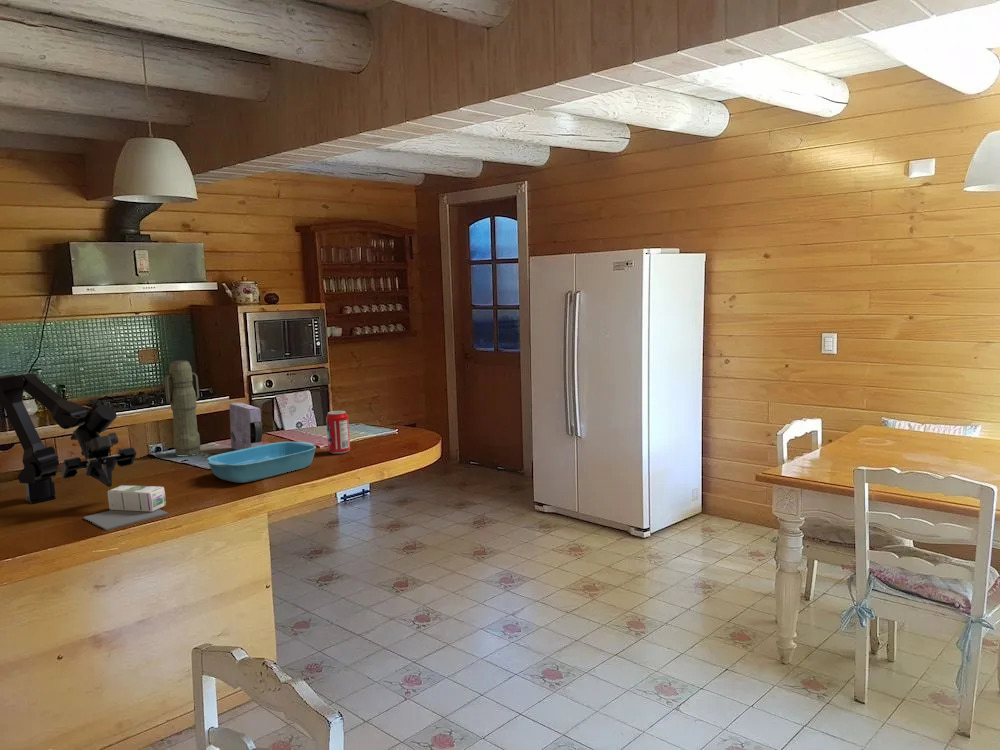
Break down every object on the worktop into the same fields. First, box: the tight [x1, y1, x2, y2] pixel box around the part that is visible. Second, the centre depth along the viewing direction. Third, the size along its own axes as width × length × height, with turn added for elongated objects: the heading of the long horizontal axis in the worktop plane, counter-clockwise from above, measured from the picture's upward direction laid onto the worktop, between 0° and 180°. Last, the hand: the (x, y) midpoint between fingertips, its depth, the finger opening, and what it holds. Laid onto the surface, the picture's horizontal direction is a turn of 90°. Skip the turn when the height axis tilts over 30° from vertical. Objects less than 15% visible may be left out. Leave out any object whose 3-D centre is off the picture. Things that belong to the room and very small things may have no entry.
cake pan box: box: [229, 402, 263, 451], centre depth 274 cm, size 19×5×18 cm, turn 42°
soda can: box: [325, 410, 351, 455], centre depth 267 cm, size 8×8×15 cm
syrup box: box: [107, 484, 167, 512], centre depth 206 cm, size 6×6×14 cm
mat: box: [83, 508, 169, 531], centre depth 201 cm, size 16×16×1 cm
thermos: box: [163, 359, 201, 455], centre depth 272 cm, size 9×12×35 cm
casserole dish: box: [206, 441, 317, 484], centre depth 244 cm, size 37×22×7 cm, turn 141°
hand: (110, 485), depth 206 cm, fingers closed
